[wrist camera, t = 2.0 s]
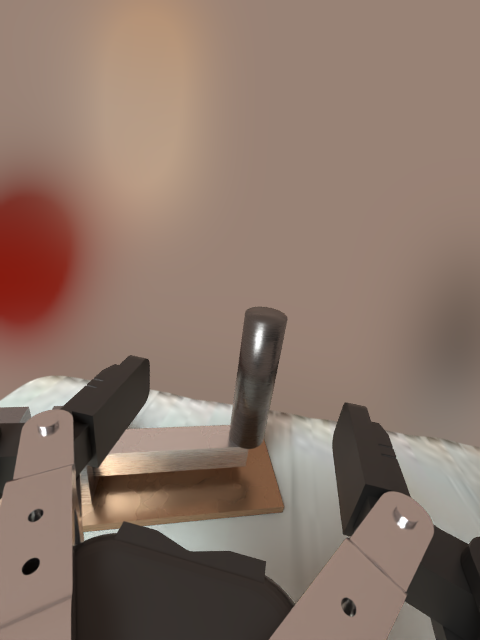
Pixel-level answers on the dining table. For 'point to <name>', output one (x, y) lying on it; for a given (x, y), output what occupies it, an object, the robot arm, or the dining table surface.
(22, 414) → the shaft bracket
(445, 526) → the dining table surface
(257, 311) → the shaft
